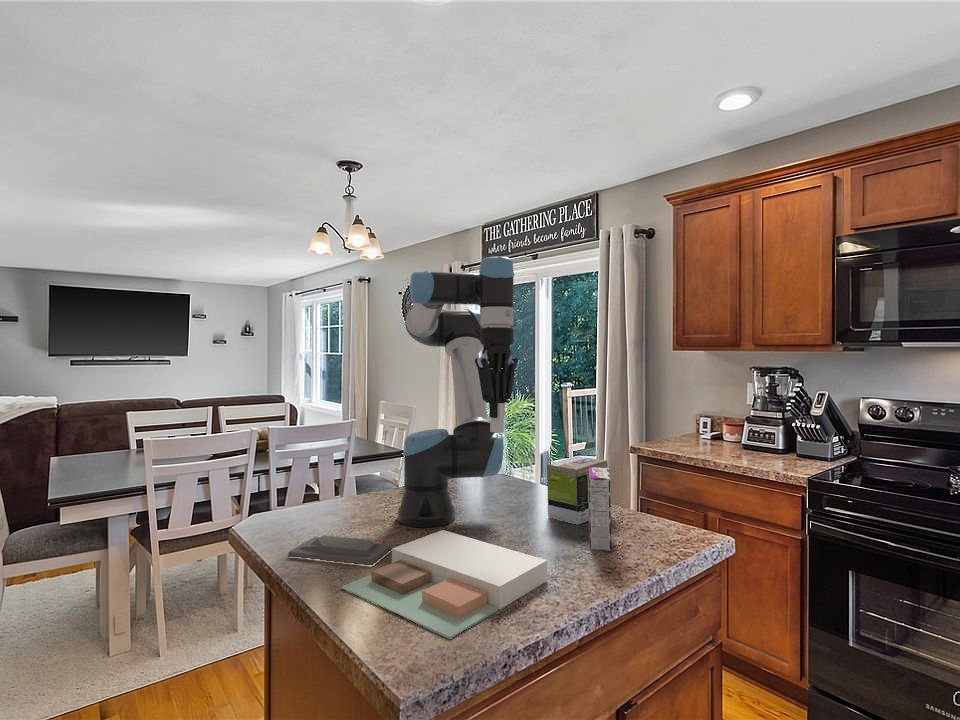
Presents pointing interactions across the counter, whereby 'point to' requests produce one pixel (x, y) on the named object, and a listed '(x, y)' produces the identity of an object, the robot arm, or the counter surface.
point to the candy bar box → (599, 509)
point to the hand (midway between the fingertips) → (497, 431)
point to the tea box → (570, 488)
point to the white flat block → (475, 565)
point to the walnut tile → (401, 577)
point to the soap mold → (341, 550)
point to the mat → (417, 607)
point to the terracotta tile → (454, 597)
